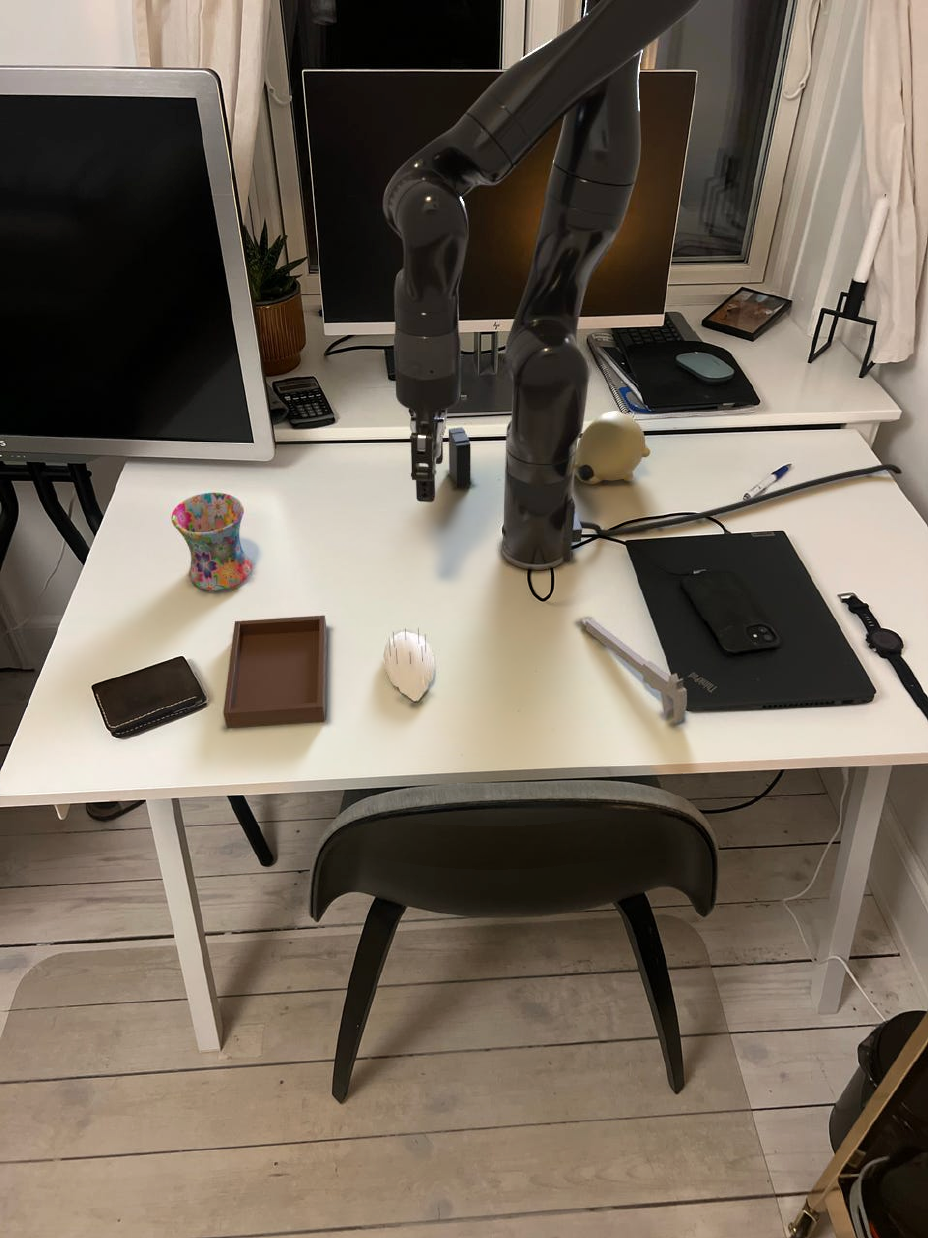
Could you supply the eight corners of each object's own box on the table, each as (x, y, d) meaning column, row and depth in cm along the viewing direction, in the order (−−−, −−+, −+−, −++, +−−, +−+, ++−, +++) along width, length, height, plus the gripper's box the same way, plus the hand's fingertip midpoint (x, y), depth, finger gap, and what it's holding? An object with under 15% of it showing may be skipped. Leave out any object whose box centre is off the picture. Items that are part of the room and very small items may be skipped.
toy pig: (597, 477, 157) (551, 441, 152) (652, 426, 152) (606, 387, 147) (608, 511, 150) (560, 473, 145) (666, 459, 144) (619, 418, 139)
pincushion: (379, 638, 123) (376, 605, 120) (426, 632, 124) (425, 599, 120) (390, 706, 115) (387, 672, 111) (441, 699, 115) (440, 666, 112)
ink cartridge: (471, 486, 149) (471, 442, 143) (456, 489, 148) (456, 444, 143) (463, 469, 152) (463, 425, 147) (449, 471, 152) (448, 427, 147)
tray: (326, 630, 125) (324, 615, 123) (325, 721, 113) (322, 706, 111) (238, 635, 124) (234, 620, 122) (226, 728, 112) (223, 713, 110)
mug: (253, 594, 130) (240, 531, 123) (183, 598, 129) (166, 535, 122) (258, 540, 139) (247, 478, 132) (193, 544, 138) (178, 482, 131)
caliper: (683, 723, 112) (691, 686, 108) (675, 726, 112) (684, 689, 108) (586, 620, 126) (590, 583, 122) (579, 623, 125) (583, 586, 121)
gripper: (454, 393, 104) (454, 516, 114) (466, 334, 114) (465, 451, 125) (385, 389, 104) (391, 512, 115) (403, 331, 115) (408, 448, 125)
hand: (430, 480), depth 120 cm, fingers open, 8 cm apart
